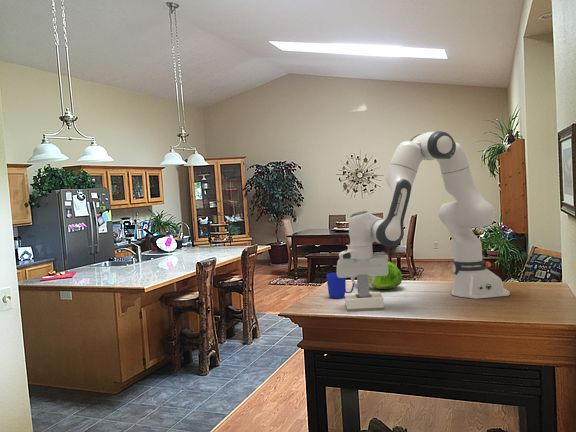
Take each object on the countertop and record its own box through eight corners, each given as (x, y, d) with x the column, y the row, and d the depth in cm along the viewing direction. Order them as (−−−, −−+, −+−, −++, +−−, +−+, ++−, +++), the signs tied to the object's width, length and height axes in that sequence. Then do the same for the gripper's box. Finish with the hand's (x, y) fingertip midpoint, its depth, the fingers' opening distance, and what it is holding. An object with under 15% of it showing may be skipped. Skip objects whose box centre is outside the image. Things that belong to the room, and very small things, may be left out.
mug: (354, 299, 215) (353, 275, 214) (326, 299, 217) (325, 276, 217) (355, 294, 223) (354, 272, 222) (328, 295, 225) (327, 273, 225)
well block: (380, 302, 205) (379, 291, 205) (384, 309, 193) (383, 298, 193) (345, 304, 206) (344, 293, 206) (347, 311, 194) (346, 300, 194)
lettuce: (366, 284, 244) (365, 256, 243) (407, 286, 234) (406, 257, 233) (354, 291, 230) (353, 261, 229) (397, 293, 220) (396, 262, 220)
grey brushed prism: (368, 297, 202) (366, 273, 201) (369, 300, 197) (368, 275, 196) (358, 298, 202) (356, 273, 201) (359, 301, 197) (357, 275, 196)
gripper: (386, 250, 201) (388, 285, 202) (335, 253, 202) (337, 287, 203) (389, 252, 195) (390, 288, 195) (335, 255, 196) (337, 290, 197)
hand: (363, 287), depth 199 cm, fingers closed on grey brushed prism, 4 cm apart
